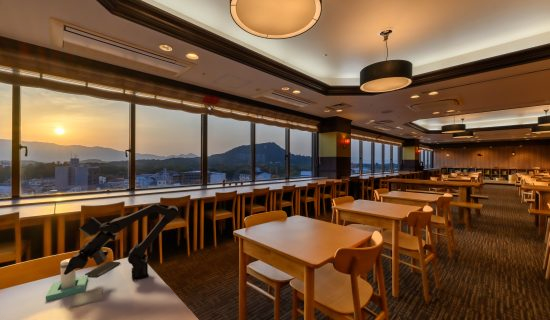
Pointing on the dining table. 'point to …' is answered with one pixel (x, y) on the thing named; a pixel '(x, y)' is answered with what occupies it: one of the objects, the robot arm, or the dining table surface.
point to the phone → (102, 269)
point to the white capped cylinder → (67, 276)
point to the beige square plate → (86, 297)
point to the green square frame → (57, 293)
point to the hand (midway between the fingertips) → (69, 269)
